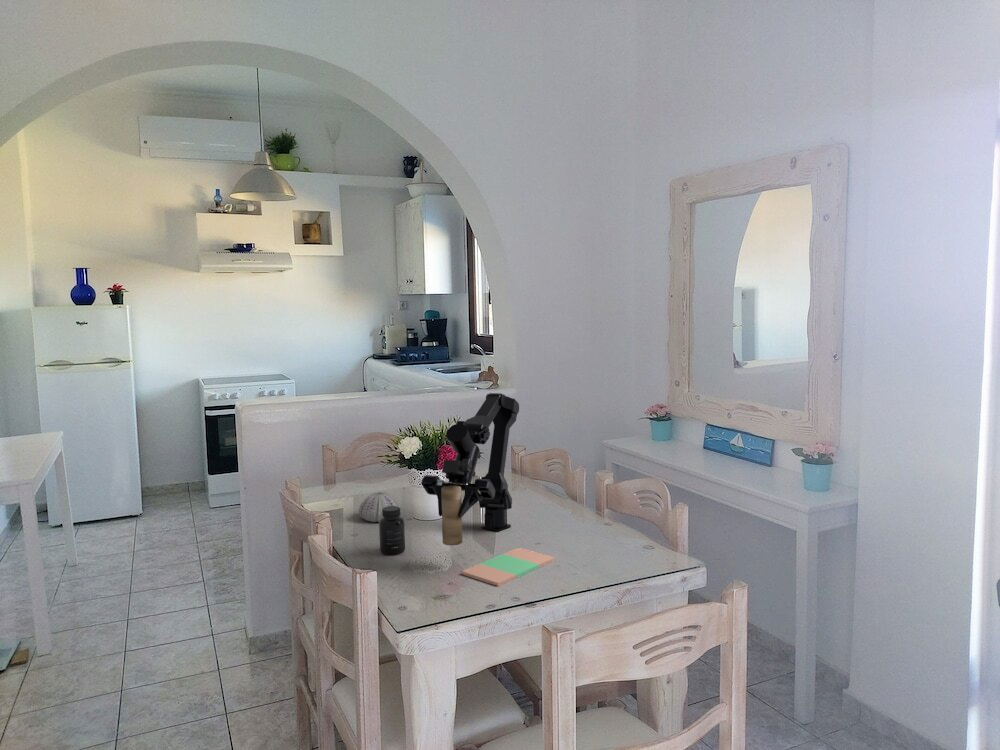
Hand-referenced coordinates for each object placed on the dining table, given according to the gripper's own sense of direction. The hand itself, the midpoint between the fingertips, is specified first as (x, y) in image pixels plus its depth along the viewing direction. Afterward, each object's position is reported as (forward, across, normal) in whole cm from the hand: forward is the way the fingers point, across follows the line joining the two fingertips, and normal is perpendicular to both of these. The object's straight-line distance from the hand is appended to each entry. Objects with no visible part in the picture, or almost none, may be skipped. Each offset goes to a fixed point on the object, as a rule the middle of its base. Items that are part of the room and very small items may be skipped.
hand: (449, 516), depth 182 cm
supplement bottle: (+5, -20, +14) cm, 25 cm away
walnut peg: (+4, 0, +6) cm, 7 cm away
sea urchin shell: (-14, -38, +33) cm, 52 cm away
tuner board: (+6, +14, +12) cm, 20 cm away
